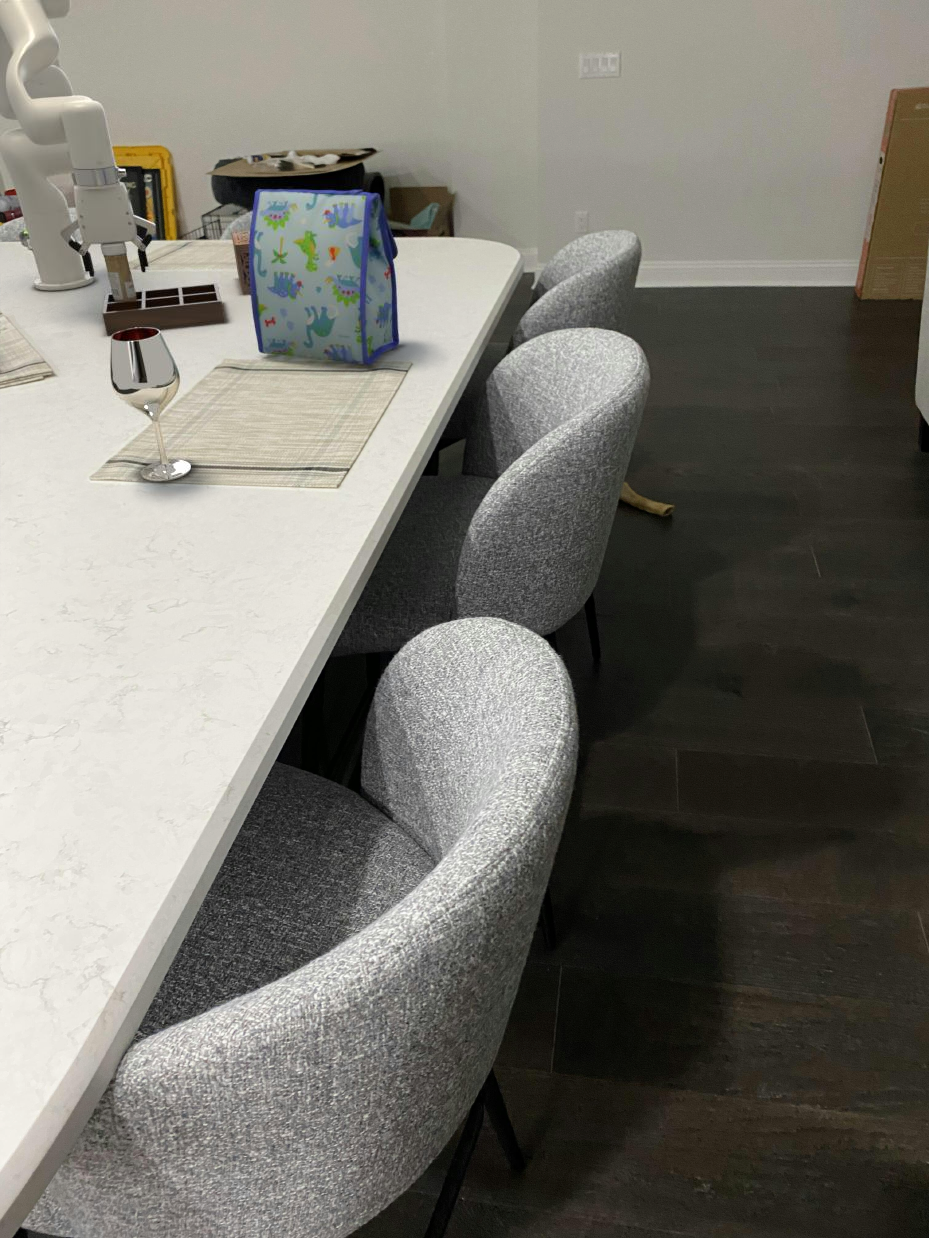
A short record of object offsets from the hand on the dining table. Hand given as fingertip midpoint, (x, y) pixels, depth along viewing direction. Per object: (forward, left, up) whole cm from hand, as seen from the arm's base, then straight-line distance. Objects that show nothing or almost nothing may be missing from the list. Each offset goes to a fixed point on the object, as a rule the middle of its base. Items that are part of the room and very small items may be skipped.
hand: (118, 273), depth 180 cm
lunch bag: (+37, +35, -9) cm, 52 cm away
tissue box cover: (-16, +36, -9) cm, 41 cm away
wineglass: (+80, +6, -9) cm, 81 cm away
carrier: (+4, +7, -9) cm, 12 cm away
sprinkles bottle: (+1, 0, -8) cm, 8 cm away
